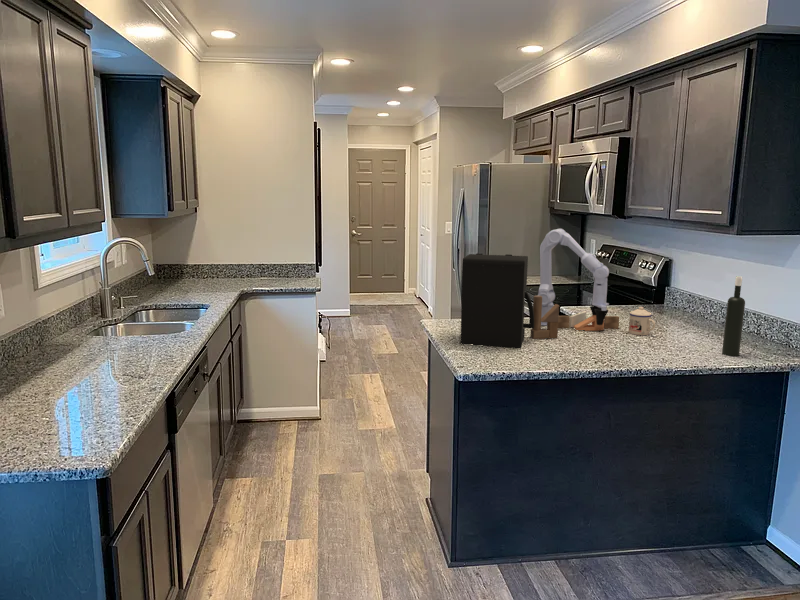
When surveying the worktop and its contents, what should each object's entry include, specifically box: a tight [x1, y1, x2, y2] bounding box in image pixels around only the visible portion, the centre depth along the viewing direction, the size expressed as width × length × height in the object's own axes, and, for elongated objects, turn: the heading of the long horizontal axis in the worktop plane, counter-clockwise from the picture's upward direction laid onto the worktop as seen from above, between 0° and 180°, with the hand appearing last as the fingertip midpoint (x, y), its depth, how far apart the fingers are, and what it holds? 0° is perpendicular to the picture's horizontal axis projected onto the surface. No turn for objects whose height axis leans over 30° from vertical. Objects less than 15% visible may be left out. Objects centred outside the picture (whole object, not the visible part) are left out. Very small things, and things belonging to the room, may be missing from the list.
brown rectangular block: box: [558, 315, 620, 330], centre depth 269 cm, size 28×2×6 cm, turn 89°
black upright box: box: [460, 253, 534, 350], centre depth 244 cm, size 28×20×35 cm
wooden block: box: [529, 294, 560, 340], centre depth 251 cm, size 4×11×18 cm, turn 98°
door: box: [569, 310, 587, 328], centre depth 275 cm, size 15×1×5 cm, turn 139°
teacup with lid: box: [628, 306, 656, 336], centre depth 258 cm, size 12×9×12 cm
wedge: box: [573, 314, 605, 332], centre depth 266 cm, size 12×4×6 cm, turn 89°
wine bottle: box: [721, 275, 746, 357], centre depth 226 cm, size 6×6×30 cm
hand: (597, 323), depth 266 cm, fingers open, 5 cm apart
